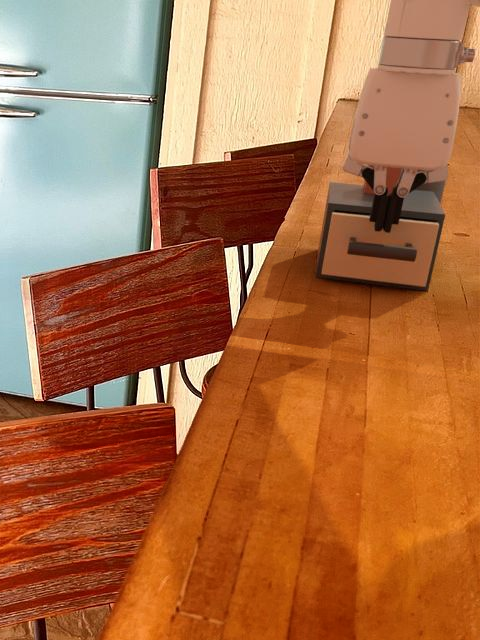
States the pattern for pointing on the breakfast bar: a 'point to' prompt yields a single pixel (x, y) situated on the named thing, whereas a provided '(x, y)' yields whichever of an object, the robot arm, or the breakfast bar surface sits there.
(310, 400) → the breakfast bar surface
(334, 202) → the cabinet
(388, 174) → the block
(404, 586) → the breakfast bar surface
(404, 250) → the drawer
